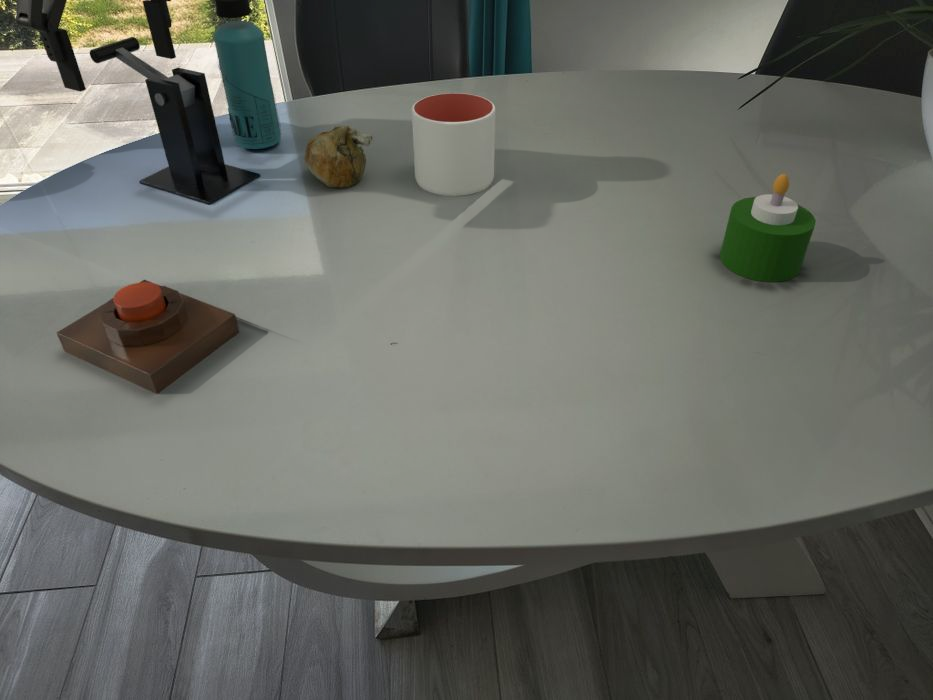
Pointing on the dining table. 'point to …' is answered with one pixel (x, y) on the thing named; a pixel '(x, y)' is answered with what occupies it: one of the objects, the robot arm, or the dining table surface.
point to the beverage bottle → (246, 77)
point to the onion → (337, 156)
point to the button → (139, 302)
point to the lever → (140, 65)
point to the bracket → (191, 143)
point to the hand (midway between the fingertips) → (123, 72)
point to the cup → (454, 143)
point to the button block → (150, 339)
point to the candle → (767, 236)
